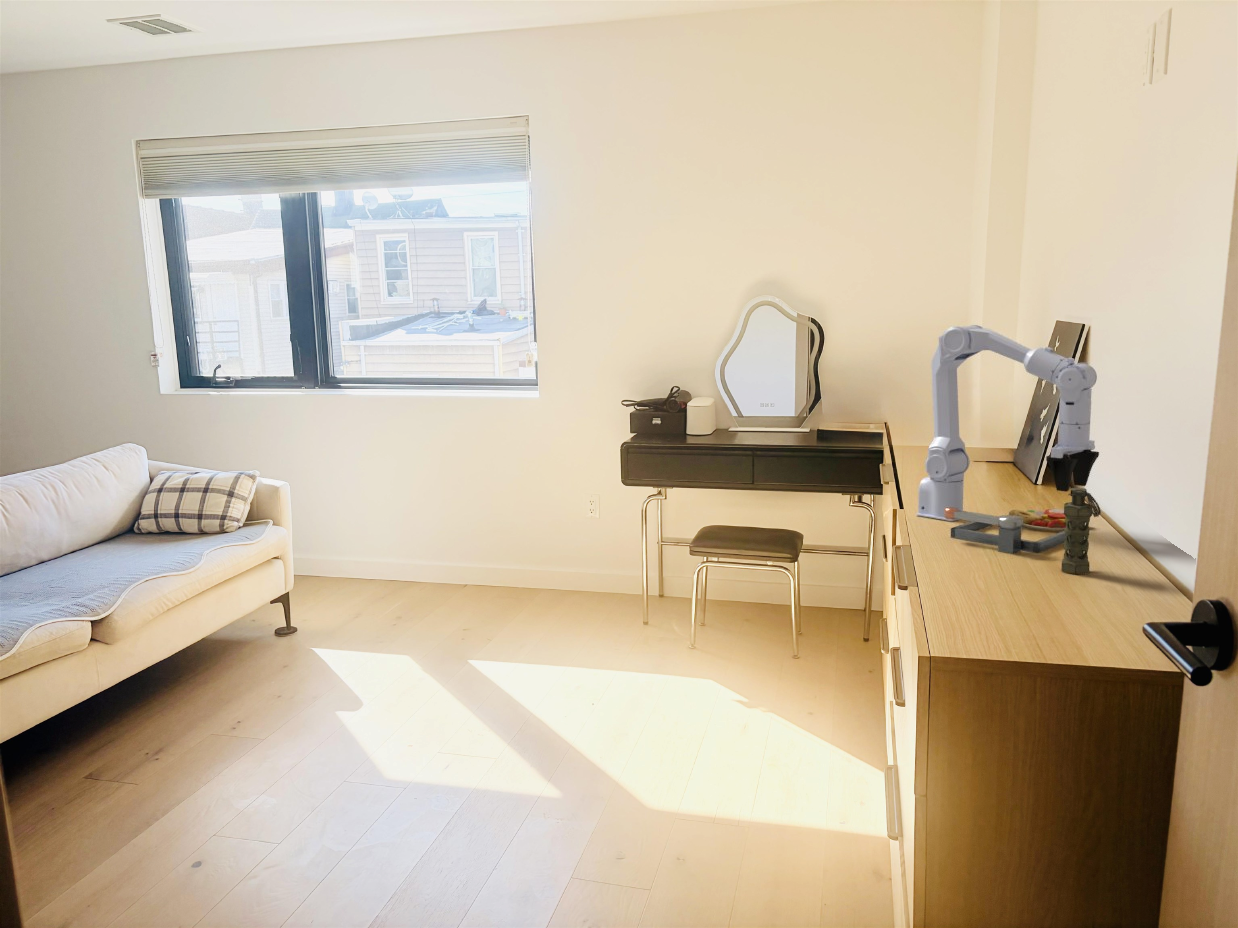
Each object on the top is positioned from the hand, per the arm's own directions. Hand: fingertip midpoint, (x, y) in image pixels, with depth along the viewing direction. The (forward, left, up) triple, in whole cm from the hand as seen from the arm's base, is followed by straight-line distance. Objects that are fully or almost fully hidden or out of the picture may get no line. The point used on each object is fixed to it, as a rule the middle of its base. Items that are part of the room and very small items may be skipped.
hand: (1071, 488), depth 178 cm
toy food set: (-7, +6, -10) cm, 14 cm away
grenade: (+13, -23, -10) cm, 29 cm away
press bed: (-7, -12, -10) cm, 17 cm away
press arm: (-8, -20, -5) cm, 22 cm away
